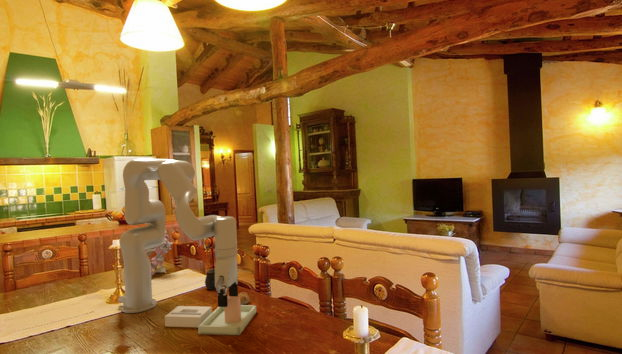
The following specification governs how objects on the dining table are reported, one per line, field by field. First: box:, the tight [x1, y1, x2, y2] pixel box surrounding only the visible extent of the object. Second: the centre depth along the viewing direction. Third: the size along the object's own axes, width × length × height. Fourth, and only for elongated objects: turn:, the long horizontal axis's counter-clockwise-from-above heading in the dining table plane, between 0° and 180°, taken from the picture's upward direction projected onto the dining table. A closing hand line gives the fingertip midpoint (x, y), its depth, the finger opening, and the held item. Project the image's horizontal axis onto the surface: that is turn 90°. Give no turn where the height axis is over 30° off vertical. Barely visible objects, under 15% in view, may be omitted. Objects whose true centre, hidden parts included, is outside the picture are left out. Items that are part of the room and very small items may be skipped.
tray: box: [197, 304, 257, 336], centre depth 120 cm, size 14×18×2 cm
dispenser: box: [164, 305, 213, 328], centre depth 123 cm, size 13×9×4 cm
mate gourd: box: [204, 268, 216, 290], centre depth 157 cm, size 7×8×10 cm
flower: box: [145, 228, 174, 277], centre depth 180 cm, size 20×22×25 cm
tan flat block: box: [224, 295, 241, 322], centre depth 120 cm, size 5×2×8 cm, turn 82°
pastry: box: [232, 292, 250, 305], centre depth 137 cm, size 9×7×4 cm
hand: (228, 301), depth 120 cm, fingers open, 9 cm apart
